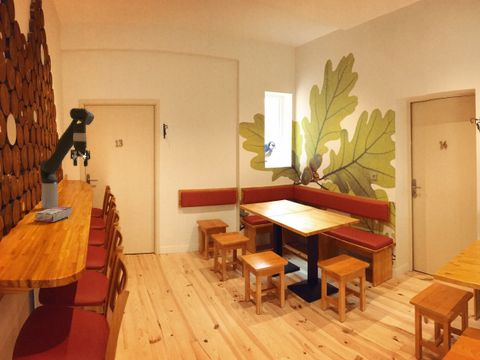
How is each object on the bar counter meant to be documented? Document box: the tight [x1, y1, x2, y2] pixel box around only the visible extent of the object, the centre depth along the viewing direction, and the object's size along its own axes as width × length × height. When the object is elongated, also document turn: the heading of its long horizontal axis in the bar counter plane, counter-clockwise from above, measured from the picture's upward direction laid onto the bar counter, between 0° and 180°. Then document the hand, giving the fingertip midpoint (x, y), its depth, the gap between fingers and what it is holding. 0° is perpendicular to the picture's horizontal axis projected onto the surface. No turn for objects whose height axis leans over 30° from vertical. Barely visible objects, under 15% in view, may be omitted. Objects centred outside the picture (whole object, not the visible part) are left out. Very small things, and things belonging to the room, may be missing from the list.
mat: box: [34, 216, 69, 224], centre depth 197 cm, size 11×13×1 cm
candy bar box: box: [35, 206, 73, 223], centre depth 197 cm, size 11×5×16 cm
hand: (80, 166), depth 215 cm, fingers open, 8 cm apart
